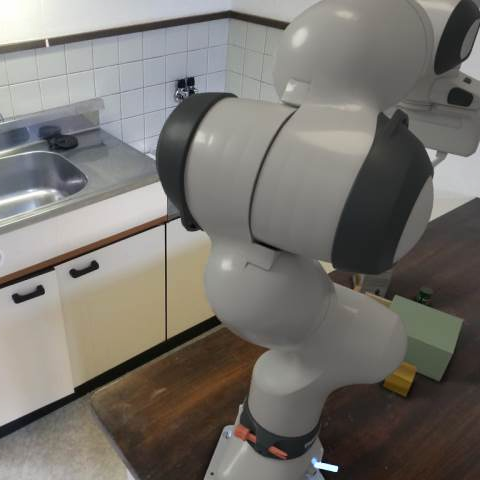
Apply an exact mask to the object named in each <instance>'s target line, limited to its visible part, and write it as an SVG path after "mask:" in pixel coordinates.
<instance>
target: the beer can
mask: <svg viewBox="0 0 480 480" xmlns="http://www.w3.org/2000/svg"><path fill="white" fill-rule="evenodd" d="M433 294H434V290H433V288H431V287H429V286H421V287H420V289H419V291H418V293H417V296H416V298H415V302H417V303H420V304H422V305H425V306H428V307H429V304H430V302H431V300H432V297H433Z"/></svg>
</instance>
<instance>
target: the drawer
mask: <svg viewBox="0 0 480 480" xmlns="http://www.w3.org/2000/svg"><path fill="white" fill-rule="evenodd" d="M353 290H354V291H357V292H360V290H361V287H360V286H357V285H356V286H355V288H354V287H353ZM365 295H367V296H369V297H371V298H373V299H374V300H376V301H378V302H379V303H381V304H383V305H384V306H386V307H388V308H389V306H390V304H391V302H392V300H390V299H387V298H385V297H384V298H382V297H379V296H376V295H374V294H371V293H368V292H366V293H365Z"/></svg>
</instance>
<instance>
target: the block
mask: <svg viewBox="0 0 480 480" xmlns="http://www.w3.org/2000/svg"><path fill="white" fill-rule="evenodd" d="M416 371H417V367H415V366H413V365H410V364H408V363H406V362H402V363H401V365H400V366H399V368H398V369H397V370H396V371H395V372H394V373H393V374H392V375H391V376H389V377H388V378H386V379H384V382H383V384H382V387H383V388H385V389H386V390H389V391H392V392H394V393H396V394H399V395H401V396H402V397H405V398H407V396H408V393H409V391H410V389H411V386H412V384H413V382H414V379H415V376H416V373H417V372H416Z"/></svg>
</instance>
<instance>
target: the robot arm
mask: <svg viewBox="0 0 480 480" xmlns="http://www.w3.org/2000/svg"><path fill="white" fill-rule="evenodd" d="M479 32H480V0H319V1H318V2H316V3H314V4H312V5H311V6H309V7H308V8H306V9H305V10H304V11H302V12H301V13H300V14H299V15H297V16H296V17H295V18H294V19H292V20H291V22H290V23H289V24H288V25H286V28H285V29H284V30H283V32H282V34H281V35H280V37H279V39H278V41H277V43H276V45H275V48H274V51H273V55H272V61H271V76H272V83H273V86H274V90H275V92H276V94H277V96H278V98H279V100H280V102H281V103H279V102H273V101H268V100H261V99H253V98H245V97H239V96H238V95H236V94H235V93H233V92H227V91H225V92H223V91H208V92H207V91H206V92H198V93H193V94H190V95H188V96H187V97H185V98H183V99H182V100H181V101H180V102H179V103H178V104H177V106H175V108H173V110H172V111H171V113H170V114H169V115H168V116H167V118H166V120H165V121H164V123H163V125H162V127H161V130H160V132H159V135H158V139H157V143H156V147H155V169H156V172H157V175H158V179H159V182H160V185H161V187H162V190H163V192H164V194H165V196H166V197H167V199H168V200H169V202H170V203H171V204H172V205H173V207H174V208H175V209H176V210H177V211H178V212H179V218H180V223H181V226H182V227H183V228H184V229H185V230H186V231H187V232H189V233H190V232H191V233H193V232H198V231H201V232H204V233H205V234H206V235H207V236H208V238H209V240H210V244H211V248H210V252H209V254H208V256H207V259H206V261H205V264H204V268H203V273H202V289H203V293H204V297H205V299H206V302H207V304H208V306H209V308H210V310H211V311H212V312H213V314H214V315H215V317H216V318H217V320H218V321H219V322H221V324H223V326H224V327H225V328H227V329H228V331H230V332H232V333H233V334H234V335H235V336H236V337H238V338H240V339H242V340H244V341H246V342H247V343H249V344H253V345H256V346H257V347H258V346H259V347H263V348H266V349H269V350H267V351H265V352H263V354H261V355H260V356H259V357H258V359H257V360H256V362H255V363H254V365H253V368H252V374H251V381H250V385H249V389H248V391H247V394H246V396H245V398H244V401H243V403H242V404H241V403H240V404H239V405H238V406H239V407H238V414H237V416H236V419H235V422H234V424H229V425H228V424H227V425H226V426H224V427H223V429H222V432H221V434H220V437H219V438H218V439H219V440H218V442H217V445H216V447H215V450H214V451H213V455H212V457H211V460H210V462H209V465H208V468H207V470H206V472H205V475H204V478H203V480H326V479H325V478H324V476H323V474H322V472H321V471H320V469H322V470H326V471H331V472H335V473H336V472H338V469H339V467H338V466H337V465H332V464H329V463H323V462H322V459H323V456H324V448H323V444H322V442H321V440H320V438H319V434H320V431H321V428H322V422H323V409H324V407H325V404H326V402H327V400H328V397H329V396H330V394H331V393H332V392H334V391H335V390H338V389H340V388H344V387H347V386H350V385H351V386H352V385H375V384H377V383H381V382H383V381H385V379H386V378H388V377H389V376H391V375H392V374H393V373H394V372H395V371H396V370H397V369H398V368H399V366H400V365H401V363H402V362H403V360H404V357H405V355H406V351H407V344H408V337H407V331H406V327H405V324H404V322H403V320H402V318H401V316H400V315H399V314H397V313H396V312H394V311H392V310H391V309H389V308H388V307H386V306H384V305H383V304H381V303H379V302H378V301H376V300H374V299H373V298H371V297H369V296H367V295H365V294H362V293H360V292H357V291H354V289H352V288H349V287H347V286H344V285H341V284H338V283H336V282H334V281H333V280H332V278H331V277H330V275H329V274H328V273H327V271H326V270H325V268H324V266H323V264H322V263H321V262H324V263H328V264H331V266H332V269H334V270H338V271H341V272H345V273H346V272H347V273H350V274H351V273H353V274H354V273H357V274H365V275H380V274H382V273H384V272H386V271H388V270H390V269H392V268H393V267H394V266H395V265H396V266H397V263H398V262H399V260H401V259H402V258H404V257H405V256H406V255H407V254H408V253H409V252H410V251H411V250H413V248H414V247H415V246H416V245H417V244H418V242H419V241H420V239H421V238H422V236H423V235H424V233H425V231H426V229H427V227H428V225H429V222H430V221H431V216H432V213H433V209H434V208H433V207H434V199H435V192H434V191H435V190H434V189H435V188H434V182H433V181H434V176H435V168H436V167H437V166H438V165H440V164H441V163H442V162H443V161H445V159H446V158H447V156H448V154H450V155H454V156H459V157H463V158H469V157H471V156H473V155H474V154H476V152H477V150H478V148H479V145H480V80H478V79H476V78H474V77H473V76H471V75H469V74H467V73H465V72H463V71H461V67H462V64H463V63H464V62H465V61H467V60H468V59H469V58H470V56H471V54H472V52H473V48H474V45H475V42H476V40H477V36H478V34H479ZM427 149H429V150H433V151H436V153H435V157H436V158H434V159H433V160H431V158H430V156H429V153H428V150H427ZM396 266H395V267H396Z"/></svg>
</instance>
